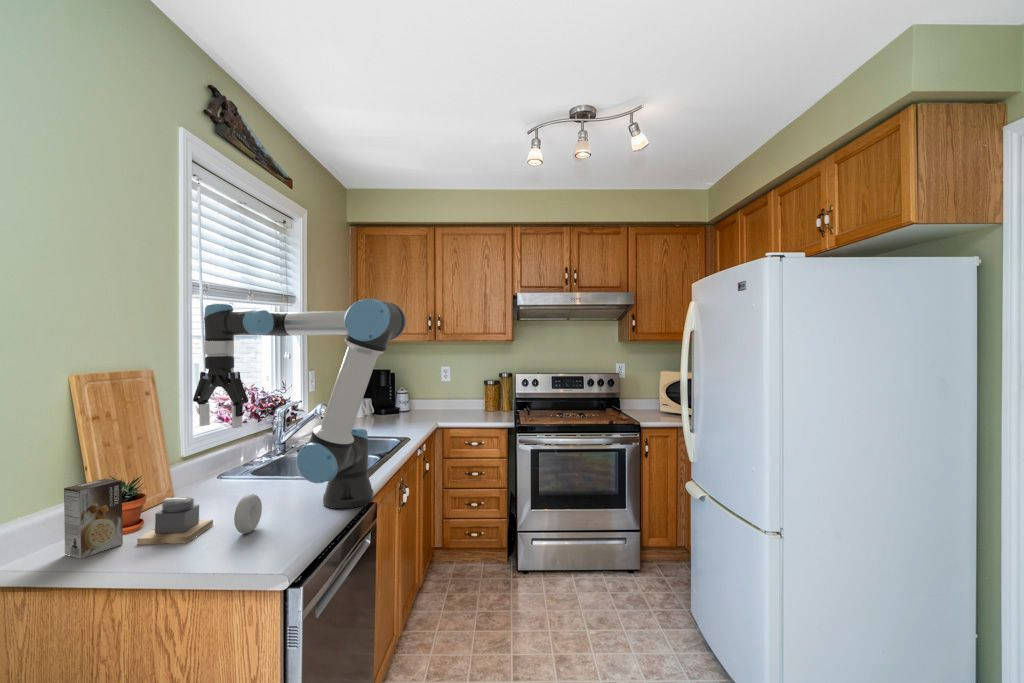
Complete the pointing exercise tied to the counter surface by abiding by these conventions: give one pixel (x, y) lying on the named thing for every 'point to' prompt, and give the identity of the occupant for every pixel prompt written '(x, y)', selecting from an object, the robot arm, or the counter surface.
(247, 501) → the upright grey disc
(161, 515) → the knob
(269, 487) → the counter surface
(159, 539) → the base
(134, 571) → the counter surface
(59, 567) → the counter surface
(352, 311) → the robot arm
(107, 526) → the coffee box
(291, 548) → the counter surface
